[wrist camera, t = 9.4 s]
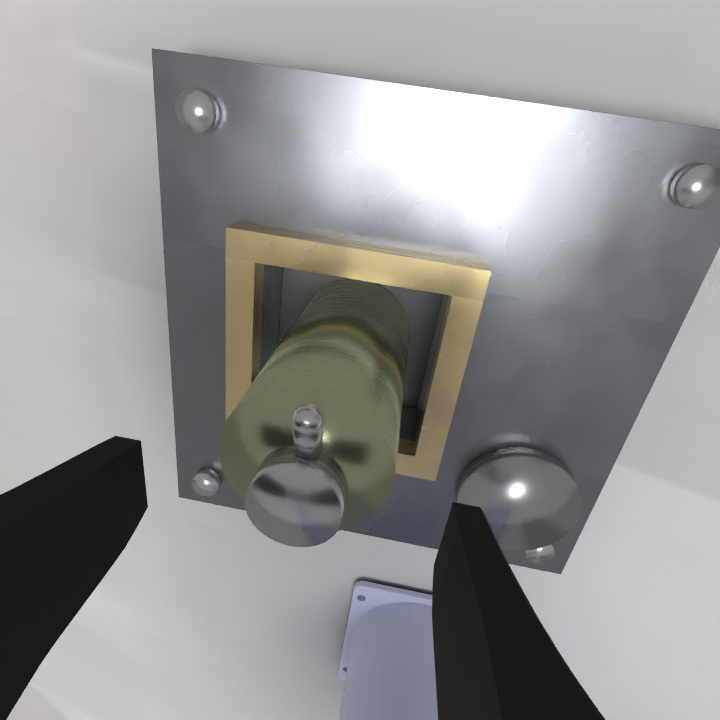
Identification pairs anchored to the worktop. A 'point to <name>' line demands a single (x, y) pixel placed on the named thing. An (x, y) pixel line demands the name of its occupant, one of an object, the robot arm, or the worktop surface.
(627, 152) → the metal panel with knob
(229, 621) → the worktop surface
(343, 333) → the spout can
